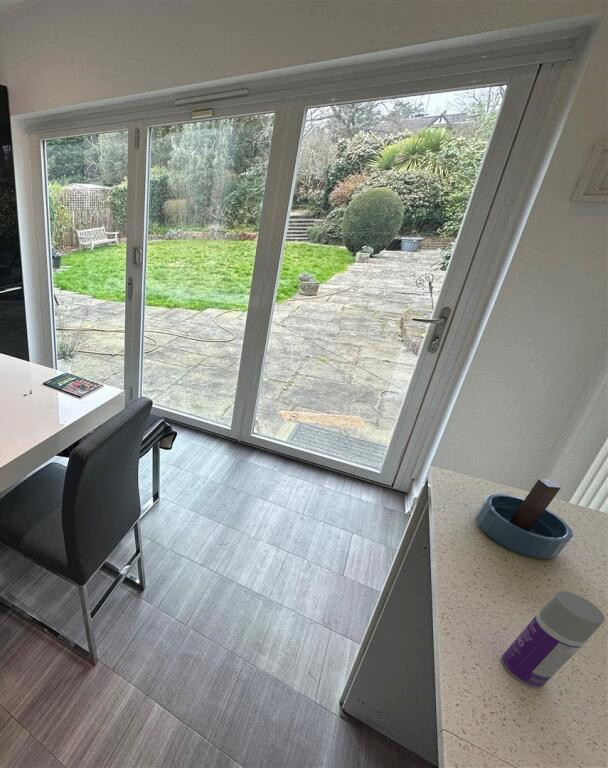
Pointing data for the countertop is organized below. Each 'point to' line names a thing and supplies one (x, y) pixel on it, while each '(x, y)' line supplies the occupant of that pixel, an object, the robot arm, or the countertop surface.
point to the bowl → (538, 542)
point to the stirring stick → (535, 504)
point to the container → (551, 638)
